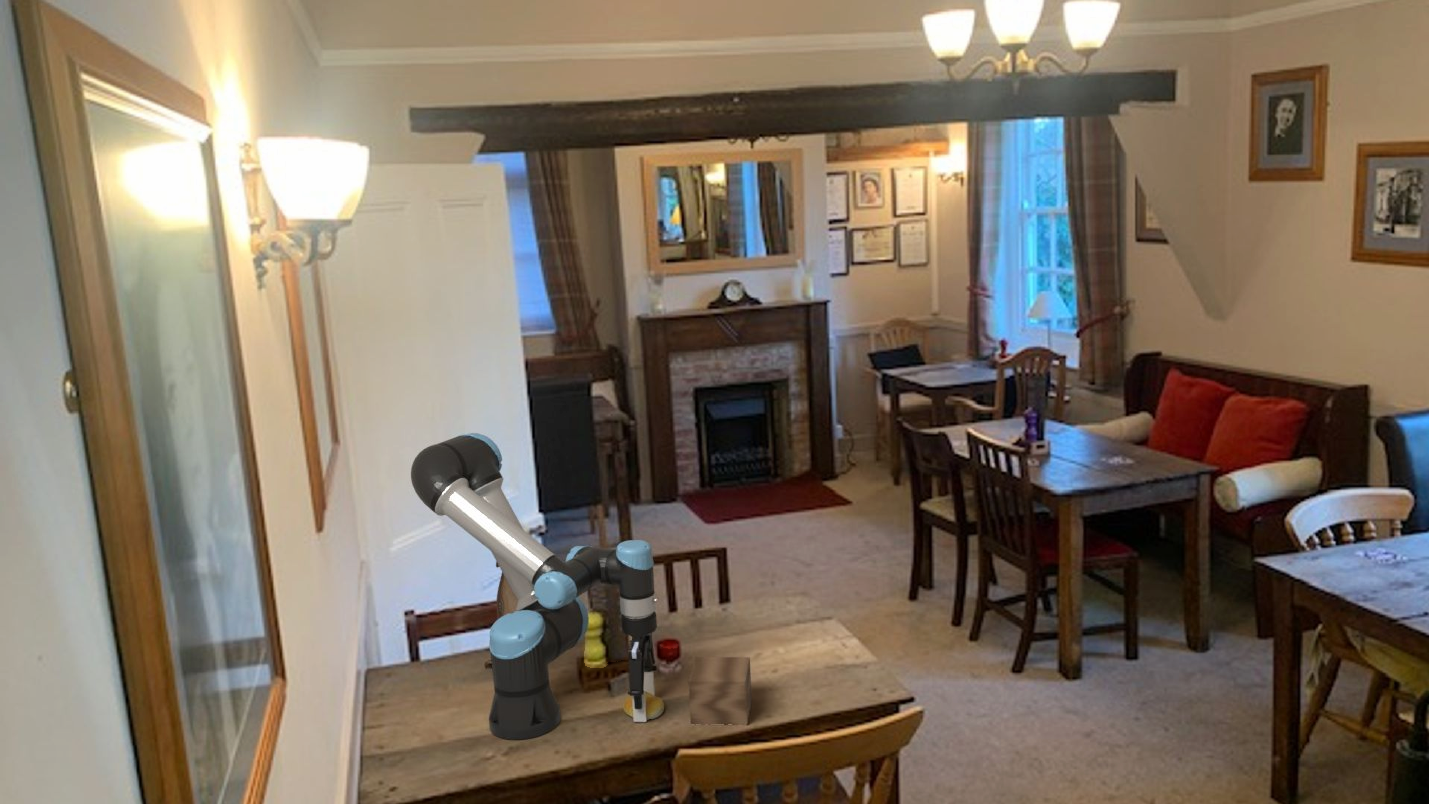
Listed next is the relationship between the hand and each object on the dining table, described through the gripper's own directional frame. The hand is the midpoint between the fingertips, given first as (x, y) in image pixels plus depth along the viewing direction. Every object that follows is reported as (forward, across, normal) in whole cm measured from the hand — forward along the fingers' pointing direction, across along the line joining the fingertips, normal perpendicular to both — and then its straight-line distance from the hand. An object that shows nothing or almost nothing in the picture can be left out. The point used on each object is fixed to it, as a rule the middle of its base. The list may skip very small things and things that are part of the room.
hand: (644, 710), depth 231 cm
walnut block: (0, 0, -17) cm, 17 cm away
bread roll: (+1, 0, 0) cm, 1 cm away
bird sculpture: (+1, +22, +36) cm, 42 cm away
